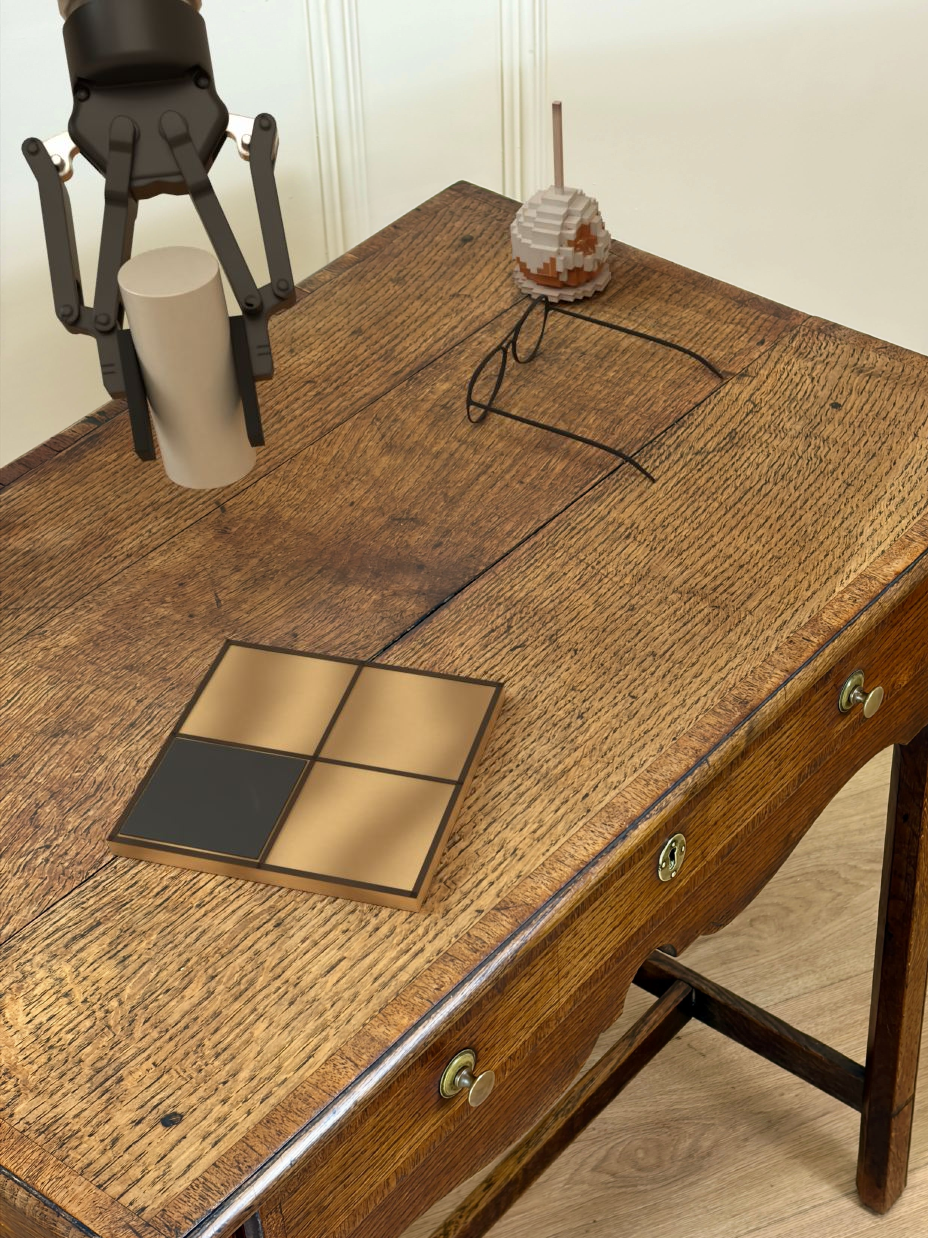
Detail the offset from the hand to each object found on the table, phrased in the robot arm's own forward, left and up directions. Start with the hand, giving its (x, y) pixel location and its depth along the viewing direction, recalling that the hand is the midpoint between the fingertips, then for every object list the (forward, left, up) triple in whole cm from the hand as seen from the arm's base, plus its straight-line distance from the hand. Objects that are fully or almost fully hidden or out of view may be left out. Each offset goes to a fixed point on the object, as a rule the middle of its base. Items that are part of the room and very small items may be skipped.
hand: (201, 448), depth 85 cm
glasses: (+14, +34, -17) cm, 40 cm away
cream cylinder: (-2, +3, -4) cm, 5 cm away
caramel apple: (+7, +51, -17) cm, 54 cm away
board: (+7, -6, -17) cm, 20 cm away
